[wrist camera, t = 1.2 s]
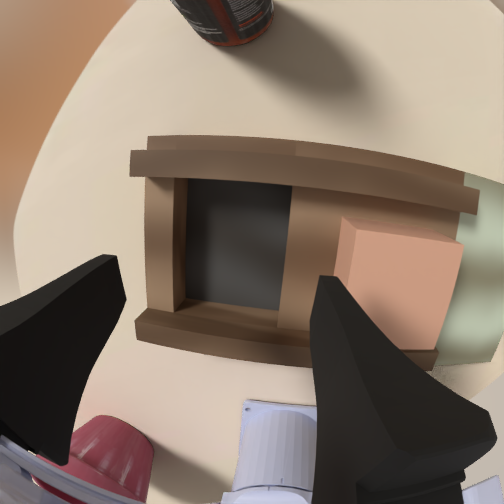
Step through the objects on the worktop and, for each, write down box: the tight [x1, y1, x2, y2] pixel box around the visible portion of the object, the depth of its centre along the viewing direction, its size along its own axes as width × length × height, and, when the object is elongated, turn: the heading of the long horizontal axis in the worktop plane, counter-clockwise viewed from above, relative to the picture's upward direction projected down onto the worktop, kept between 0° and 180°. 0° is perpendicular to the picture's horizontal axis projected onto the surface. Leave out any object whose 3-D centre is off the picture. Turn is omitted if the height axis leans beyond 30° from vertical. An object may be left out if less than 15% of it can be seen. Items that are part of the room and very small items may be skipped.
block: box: [334, 216, 464, 350], centre depth 15 cm, size 6×6×4 cm
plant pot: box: [31, 415, 154, 504], centre depth 23 cm, size 14×14×13 cm
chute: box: [129, 135, 504, 371], centre depth 17 cm, size 14×28×5 cm, turn 86°
